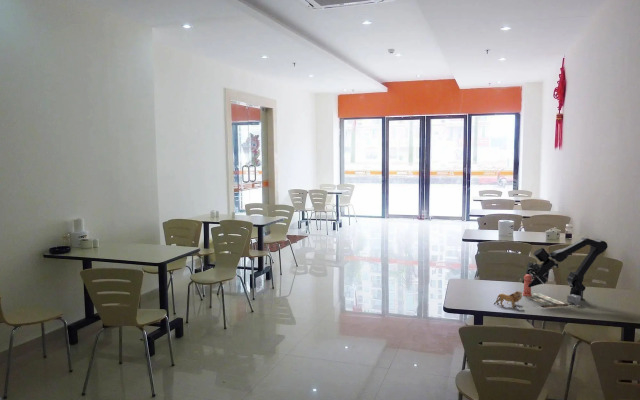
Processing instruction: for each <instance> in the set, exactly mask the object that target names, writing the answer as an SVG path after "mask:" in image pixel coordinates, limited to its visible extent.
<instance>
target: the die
mask: <svg viewBox="0 0 640 400" xmlns="http://www.w3.org/2000/svg"><path fill="white" fill-rule="evenodd" d="M566 297H567V298H566V302H567V303H569V305H571V306H573V305H574V307H577V305H578V306H581V301H582V300H581V296H578V295H574V294H571V295H570V294H567V296H566Z"/></svg>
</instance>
